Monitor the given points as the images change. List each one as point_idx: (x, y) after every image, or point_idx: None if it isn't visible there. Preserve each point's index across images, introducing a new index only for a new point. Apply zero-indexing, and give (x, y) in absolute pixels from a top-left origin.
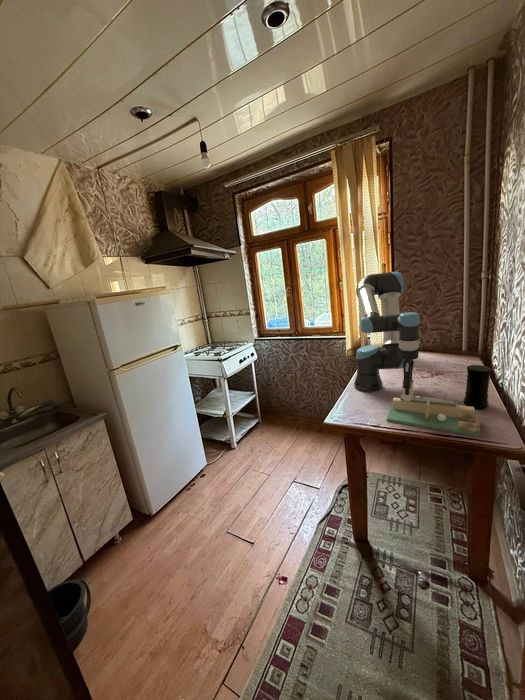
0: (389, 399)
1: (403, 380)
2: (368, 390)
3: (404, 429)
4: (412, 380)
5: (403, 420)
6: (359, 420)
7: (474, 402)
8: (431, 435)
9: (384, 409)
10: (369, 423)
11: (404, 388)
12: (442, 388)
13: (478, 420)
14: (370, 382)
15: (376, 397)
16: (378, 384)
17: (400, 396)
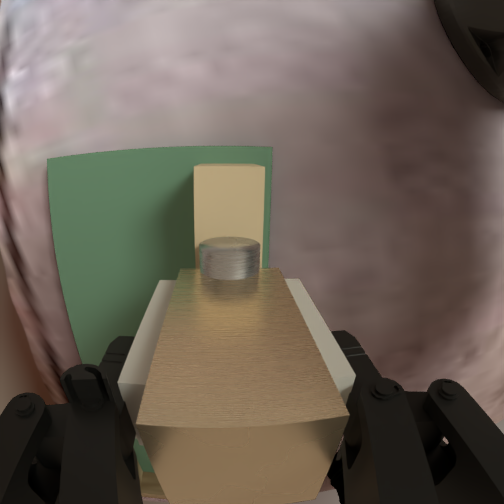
0: (384, 128)
1: (263, 429)
2: (444, 12)
3: (21, 262)
4: (289, 499)
5: (63, 256)
6: (33, 27)
7: (339, 479)
8: (42, 362)
9: (210, 105)
10: (13, 83)
11: (124, 376)
12: (490, 358)
13: (166, 498)
14: (490, 13)
15: (388, 47)
16: (502, 69)
17: (203, 253)
